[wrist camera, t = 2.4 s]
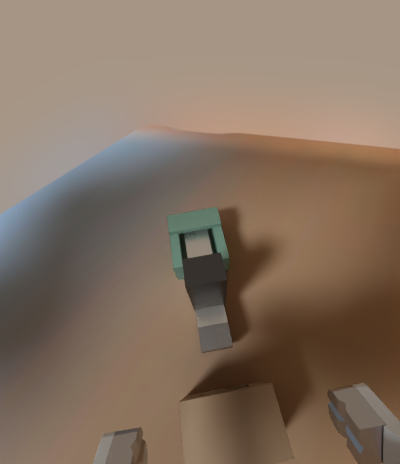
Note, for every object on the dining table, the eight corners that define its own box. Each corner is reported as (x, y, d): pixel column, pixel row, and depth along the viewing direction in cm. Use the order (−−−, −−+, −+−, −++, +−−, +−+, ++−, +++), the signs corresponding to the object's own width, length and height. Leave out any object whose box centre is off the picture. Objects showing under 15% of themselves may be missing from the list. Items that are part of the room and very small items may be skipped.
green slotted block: (178, 279, 25) (172, 265, 22) (172, 230, 29) (166, 212, 26) (228, 270, 26) (229, 255, 22) (216, 222, 29) (215, 203, 26)
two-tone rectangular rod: (201, 353, 20) (193, 344, 13) (182, 224, 29) (170, 175, 21) (232, 347, 21) (241, 335, 13) (204, 220, 29) (200, 170, 21)
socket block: (192, 457, 17) (185, 482, 14) (186, 395, 20) (178, 402, 16) (277, 439, 18) (294, 458, 14) (261, 380, 20) (272, 383, 16)
